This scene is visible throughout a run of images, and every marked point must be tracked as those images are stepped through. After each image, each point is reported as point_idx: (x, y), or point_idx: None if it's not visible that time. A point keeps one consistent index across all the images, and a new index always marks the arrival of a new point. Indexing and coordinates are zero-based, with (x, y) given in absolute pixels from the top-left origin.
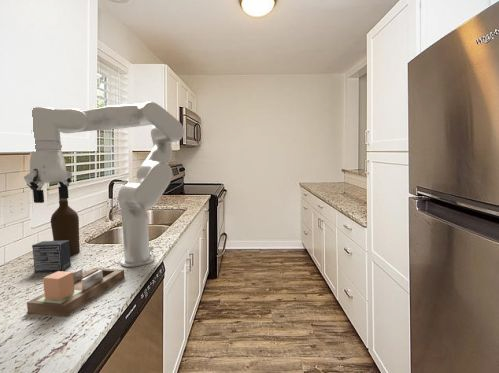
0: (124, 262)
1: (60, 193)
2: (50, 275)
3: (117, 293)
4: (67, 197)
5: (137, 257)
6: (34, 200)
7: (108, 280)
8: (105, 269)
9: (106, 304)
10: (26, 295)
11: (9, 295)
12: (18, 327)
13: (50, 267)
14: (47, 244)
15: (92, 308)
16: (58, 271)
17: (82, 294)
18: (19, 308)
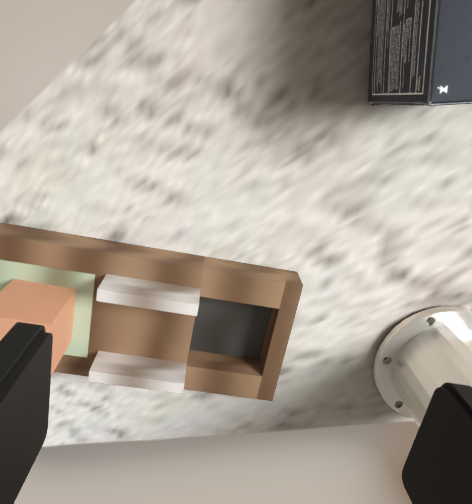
0: (405, 338)
1: (462, 456)
2: (2, 325)
3: (150, 407)
4: (410, 488)
5: (402, 399)
6: (7, 343)
7: (184, 386)
8: (280, 337)
9: (79, 409)
10: (122, 118)
11: (118, 42)
12: None
13: (378, 42)
14: (440, 13)
15: (53, 386)
16: (47, 328)
17: (61, 371)
18: (24, 171)
